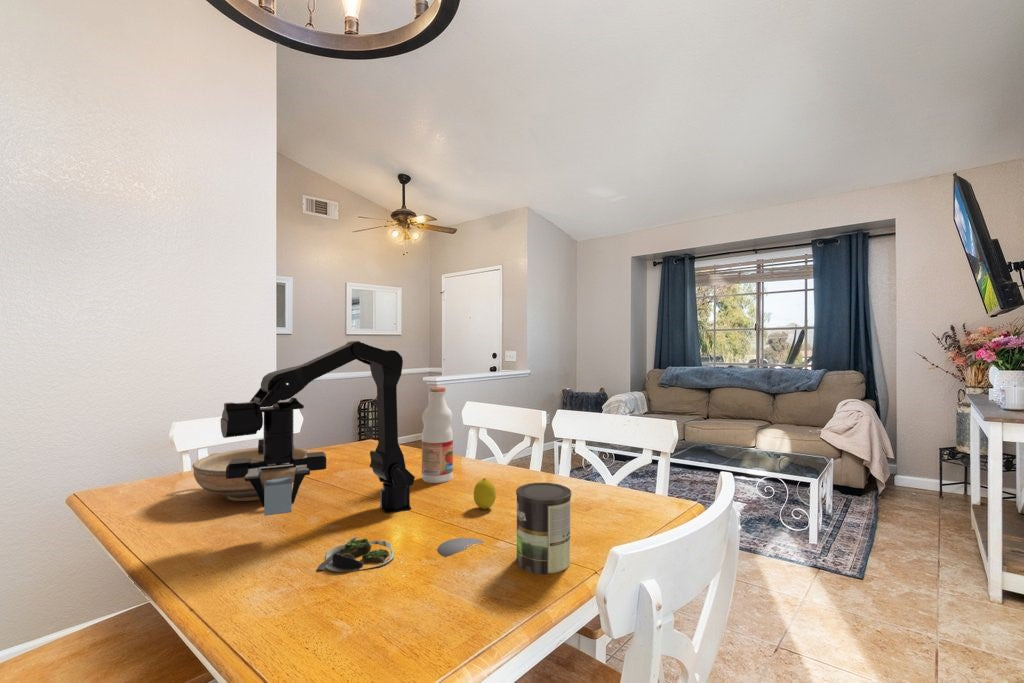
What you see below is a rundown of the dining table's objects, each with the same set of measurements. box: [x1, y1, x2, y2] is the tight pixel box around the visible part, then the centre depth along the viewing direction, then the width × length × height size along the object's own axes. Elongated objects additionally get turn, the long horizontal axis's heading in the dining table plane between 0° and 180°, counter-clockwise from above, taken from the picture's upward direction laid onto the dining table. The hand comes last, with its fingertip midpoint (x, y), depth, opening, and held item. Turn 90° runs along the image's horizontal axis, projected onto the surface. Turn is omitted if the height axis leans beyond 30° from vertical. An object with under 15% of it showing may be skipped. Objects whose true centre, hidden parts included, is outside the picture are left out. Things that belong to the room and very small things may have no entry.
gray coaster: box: [437, 537, 485, 558], centre depth 95 cm, size 10×10×1 cm
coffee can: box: [515, 482, 572, 575], centre depth 89 cm, size 10×10×14 cm
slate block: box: [263, 478, 293, 517], centre depth 101 cm, size 5×5×6 cm
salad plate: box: [317, 536, 395, 574], centre depth 92 cm, size 15×14×4 cm
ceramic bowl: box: [192, 446, 311, 502], centre depth 132 cm, size 37×29×10 cm
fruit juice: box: [421, 386, 454, 484], centre depth 145 cm, size 9×9×28 cm
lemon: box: [473, 477, 497, 510], centre depth 118 cm, size 6×6×8 cm
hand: (278, 505), depth 101 cm, fingers closed on slate block, 5 cm apart
